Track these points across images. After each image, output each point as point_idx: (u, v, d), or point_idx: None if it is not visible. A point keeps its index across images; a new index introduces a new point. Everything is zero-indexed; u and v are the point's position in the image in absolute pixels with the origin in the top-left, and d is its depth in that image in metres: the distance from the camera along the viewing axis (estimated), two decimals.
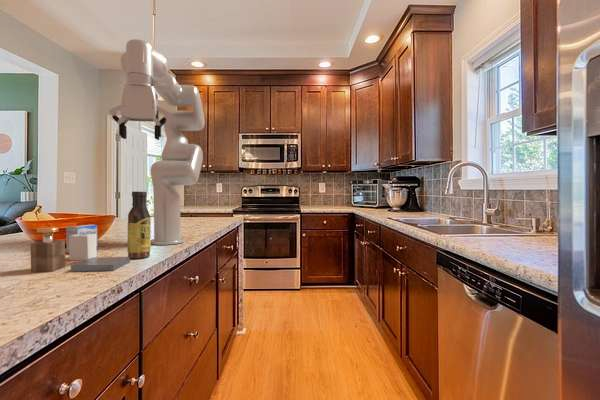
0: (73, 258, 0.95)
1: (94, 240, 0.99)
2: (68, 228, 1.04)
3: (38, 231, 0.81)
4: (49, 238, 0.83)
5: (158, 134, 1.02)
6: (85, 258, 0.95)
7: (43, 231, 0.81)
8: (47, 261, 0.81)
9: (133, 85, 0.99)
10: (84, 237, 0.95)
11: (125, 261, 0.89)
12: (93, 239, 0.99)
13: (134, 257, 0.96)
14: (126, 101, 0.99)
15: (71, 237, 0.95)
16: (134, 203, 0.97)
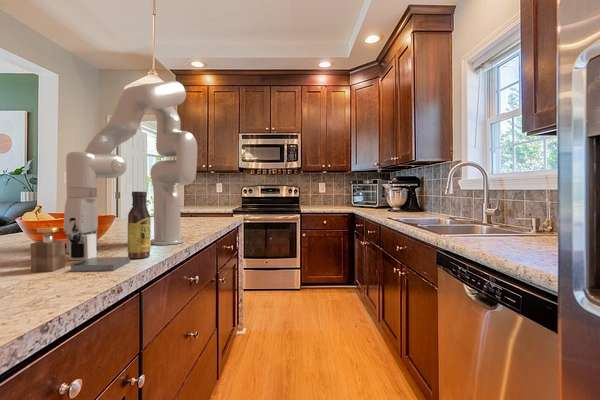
0: (73, 258, 0.95)
1: (94, 240, 0.99)
2: None
3: (38, 231, 0.81)
4: (49, 238, 0.83)
5: None
6: (85, 258, 0.95)
7: (43, 231, 0.81)
8: (47, 261, 0.81)
9: (89, 199, 0.96)
10: (84, 237, 0.95)
11: (125, 261, 0.89)
12: (93, 239, 0.99)
13: (134, 257, 0.96)
14: (84, 216, 0.94)
15: None
16: (134, 203, 0.97)
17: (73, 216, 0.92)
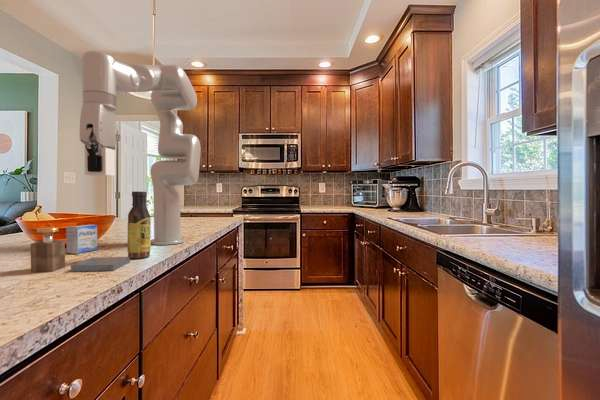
0: (89, 172, 0.83)
1: (112, 156, 0.88)
2: (68, 228, 1.04)
3: (38, 231, 0.81)
4: (49, 238, 0.83)
5: None
6: (103, 173, 0.84)
7: (43, 231, 0.81)
8: (47, 261, 0.81)
9: (107, 107, 0.85)
10: (102, 149, 0.84)
11: (125, 261, 0.89)
12: (111, 155, 0.87)
13: (134, 257, 0.96)
14: (103, 124, 0.83)
15: None
16: (134, 203, 0.97)
17: (90, 122, 0.81)
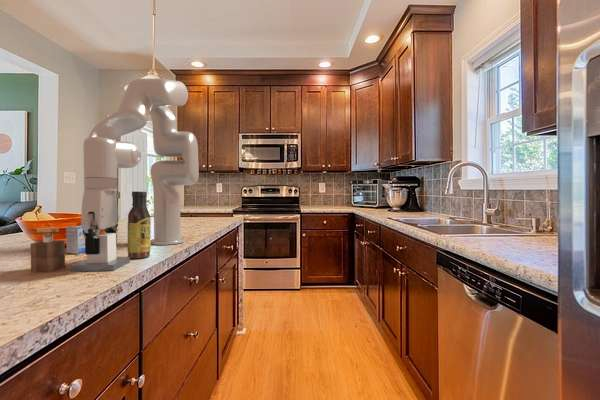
0: (91, 261, 0.84)
1: (114, 240, 0.88)
2: (68, 228, 1.04)
3: (38, 231, 0.81)
4: (49, 238, 0.83)
5: None
6: (105, 260, 0.85)
7: (43, 231, 0.81)
8: (47, 261, 0.81)
9: (108, 191, 0.85)
10: (104, 237, 0.84)
11: (125, 261, 0.89)
12: (113, 239, 0.88)
13: (134, 257, 0.96)
14: (104, 210, 0.83)
15: None
16: (134, 203, 0.97)
17: (92, 210, 0.81)
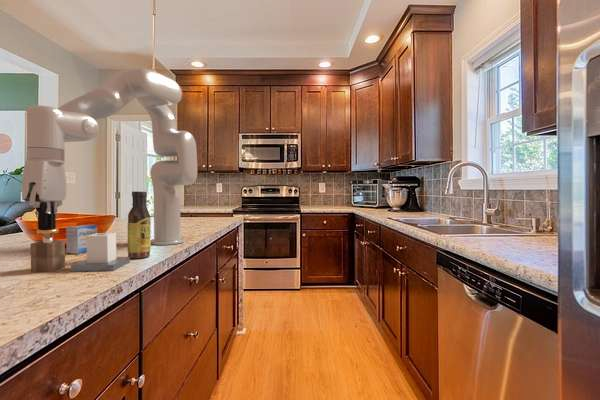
0: (91, 261, 0.84)
1: (114, 240, 0.88)
2: (68, 228, 1.04)
3: (38, 232, 0.81)
4: (49, 239, 0.83)
5: None
6: (105, 260, 0.85)
7: (43, 233, 0.81)
8: (47, 261, 0.81)
9: (53, 162, 0.82)
10: (104, 237, 0.84)
11: (125, 261, 0.89)
12: (113, 239, 0.88)
13: (134, 257, 0.96)
14: (47, 181, 0.80)
15: (89, 237, 0.84)
16: (134, 203, 0.97)
17: (33, 180, 0.78)
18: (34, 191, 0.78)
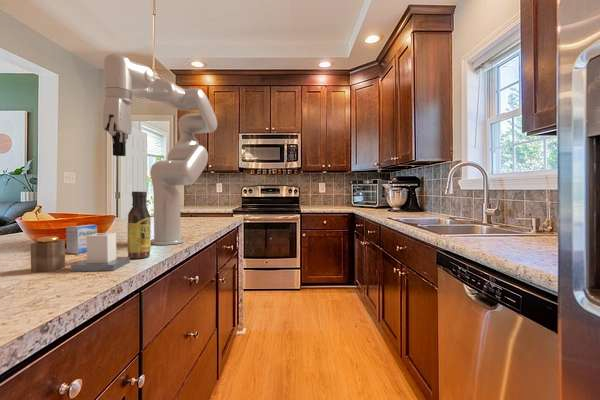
0: (91, 261, 0.84)
1: (114, 240, 0.88)
2: (68, 228, 1.04)
3: (38, 241, 0.81)
4: None
5: None
6: (105, 260, 0.85)
7: (44, 241, 0.81)
8: (47, 261, 0.81)
9: (125, 101, 1.02)
10: (104, 237, 0.84)
11: (125, 261, 0.89)
12: (113, 239, 0.88)
13: (134, 257, 0.96)
14: (121, 115, 1.00)
15: (89, 237, 0.84)
16: (134, 203, 0.97)
17: (112, 113, 0.98)
18: (112, 122, 0.99)
